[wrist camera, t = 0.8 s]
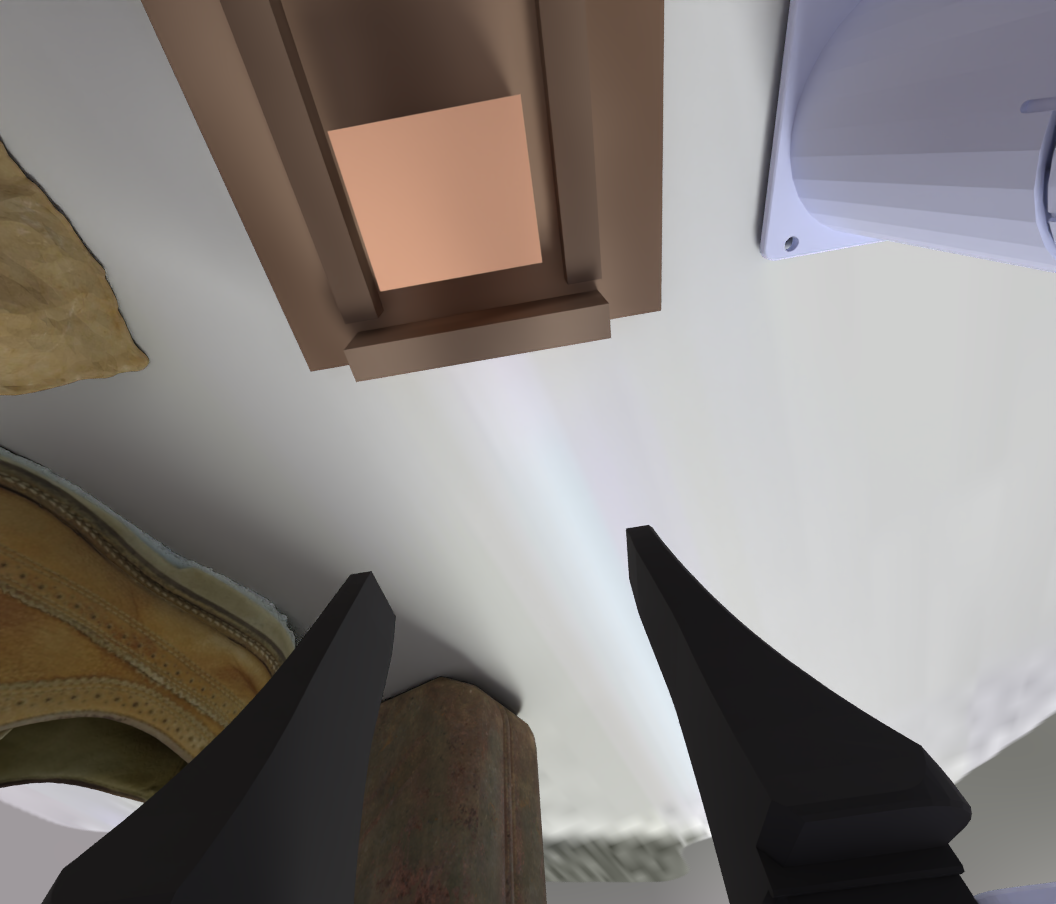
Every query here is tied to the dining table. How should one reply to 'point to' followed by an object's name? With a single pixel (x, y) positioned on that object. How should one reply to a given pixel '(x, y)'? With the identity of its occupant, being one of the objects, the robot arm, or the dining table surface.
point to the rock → (52, 297)
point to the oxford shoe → (114, 643)
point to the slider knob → (442, 192)
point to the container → (450, 803)
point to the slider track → (417, 87)
